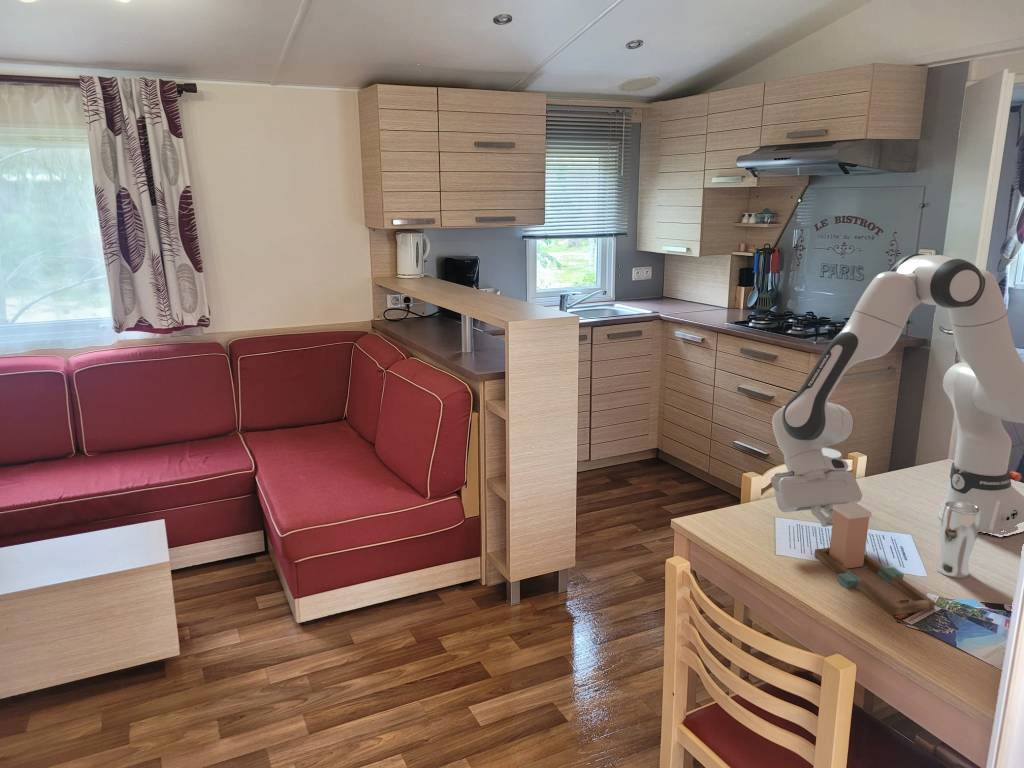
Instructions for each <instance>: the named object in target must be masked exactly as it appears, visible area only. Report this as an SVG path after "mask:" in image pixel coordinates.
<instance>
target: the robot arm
mask: <svg viewBox="0 0 1024 768" xmlns="http://www.w3.org/2000/svg"><path fill="white" fill-rule="evenodd" d="M856 303H857V304H856V305H855V307H854V310H853V311H852V314H851V315H850V317H849V319H848V320H847V322H846V323H845V325H844V326H843V328H842V329H841V331H840V332H839V333H838V334H837V335H836V336H834V337H833V339H831V340H830V342H829V343H828V344H827V346H826V347H825V349H824V350H823V352H822V353H821V355H820V357H819V358H818V360H817V361H816V363H815V365H814V366H813V368H812V369H811V371H810V372H809V375H808V377H807V378H806V379H805V381H804V383H803V384H802V386H800V387H801V388H799V390H798V391H797V392H796V393H795V394H794V395H793V396H792V397H791V398H790V399H789V400H788V401H787V402H786V403H785V405H784V406H782V407H780V408H779V409H778V410H777V411H776V412H774V414H773V416H772V420H771V421H772V423H771V425H772V428H773V434H774V437H775V440H776V443H777V446H778V449H779V450H780V452H782V454H783V457H784V459H783V460H784V465H785V467H786V469H787V471H784V472H775V473H774V475H773V474H772V476H771V479H770V483H771V485H772V488H773V490H774V496H775V500H776V504H777V507H778V510H780V511H781V512H782V513H789V512H790V513H793V512H802V511H810V512H811V514H812V515H813V516H814V517H815V518H816V519H817V520H818V521H819V523H820V526H821V527H822V528H826V527H832V524H833V515H834V509H833V505H835V504H845V503H854V502H855V503H857V504H858V503H859V502H861V501H862V499H863V493H862V490H861V488H860V486H859V484H858V481H857V480H856V478H855V476H854V475H853V473H852V472H850V471H848V470H849V465H848V464H849V463H848V462H847V461H846V460H843V459H842V460H839V459H835V458H831V457H828V456H824V455H823V453H822V448H823V447H824V448H829V447H832V446H836V445H838V444H839V445H840V444H842V443H844V442H845V441H847V440H848V439H849V438H850V436H851V435H852V433H853V430H854V424H855V422H854V418H853V417H854V416H853V414H852V412H851V411H850V410H849V409H848V408H847V407H845V406H842V405H840V404H838V403H834V402H830V401H829V399H830V398H831V395H832V394H833V393H834V391H835V390H836V387H837V386H838V384H839V383H840V382H841V380H842V378H843V376H844V375H845V373H847V371H848V370H849V369H850V368H852V366H855V365H856V364H859V363H861V362H864V361H869V360H874V359H878V358H881V357H883V356H885V355H886V354H888V353H889V352H890V351H891V350H892V348H893V347H894V346H895V344H896V343H897V342H898V340H899V338H900V336H901V335H902V332H903V330H904V328H905V326H906V324H907V322H908V319H909V317H910V316H911V313H912V312H913V310H914V309H915V308H916V307H917V306H919V305H920V304H923V305H929V306H931V305H932V306H937V307H941V308H945V309H948V316H949V320H950V324H951V329H952V334H953V339H954V343H955V349H956V352H957V353H958V355H959V356H960V358H961V359H962V360H964V362H958V363H954V364H953V365H952V366H951V367H949V368H948V369H947V371H946V372H945V374H944V376H943V380H942V388H943V391H944V393H945V395H947V397H948V399H949V400H950V403H951V405H952V409H953V412H954V416H955V421H956V427H957V429H956V430H957V431H956V432H957V438H956V446H955V447H956V448H955V455H954V462H952V463H951V467H950V473H949V478H950V479H949V481H948V485H947V489H946V492H945V495H944V499H943V502H941V503H940V506H939V508H940V507H941V508H940V510H939V512H938V518H939V519H940V520H941V518H942V514H943V510H944V506H945V503H946V502H948V501H961V502H966V503H970V504H973V505H975V506H977V507H979V508H980V510H981V511H980V524H979V531H978V532H986V533H992V534H999V535H1004V534H1008V533H1011V532H1014V531H1016V530H1018V527H1017V526H1016V525H1017V524H1019V523H1022V522H1024V495H1023V494H1022V493H1021V492H1020V491H1019V490H1017V489H1016V488H1015V487H1014V486H1013V485H1012V482H1011V480H1013V481H1015V482H1020V480H1021V479H1022V478H1023V477H1022V474H1021V473H1020V472H1016V471H1013V470H1012V471H1009V470H1008V468H1009V463H1010V457H1011V452H1012V444H1013V443H1012V442H1013V441H1012V439H1011V437H1010V435H1009V434H1008V432H1007V431H1006V429H1005V428H1004V425H1003V422H1002V421H1005V422H1011V423H1019V424H1024V361H1023V359H1022V357H1021V355H1020V354H1019V352H1018V350H1017V348H1016V346H1015V344H1014V340H1013V338H1012V332H1011V328H1010V323H1009V318H1008V314H1007V308H1006V303H1005V299H1004V296H1003V293H1002V291H1001V288H1000V286H999V283H998V281H997V278H996V276H994V275H993V273H992V272H990V271H988V270H985V269H981V268H980V269H979V268H978V267H977V266H975V264H973V263H971V262H970V261H967V260H966V259H961V258H954V257H951V256H947V255H943V254H942V255H941V254H923V253H913V254H909V255H906V256H903V257H902V258H901V259H899V260H898V261H897V262H896V263H895V264H894V265H893V266H892V268H891V269H890V270H889V271H883V272H880V273H879V274H878V273H877V275H876V276H874V278H873V279H872V280H871V282H870V283H869V285H868V286H866V289H865V290H864V292H863V293H862V295H861V297H860V298H859V299H858V302H856ZM823 509H824V510H825V512H826V513H828V515H827V516H826V515H824V513H823V512H822V510H823ZM1015 526H1016V527H1015ZM1003 530H1004V532H1001V531H1003ZM1005 531H1006V532H1005Z"/></svg>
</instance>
